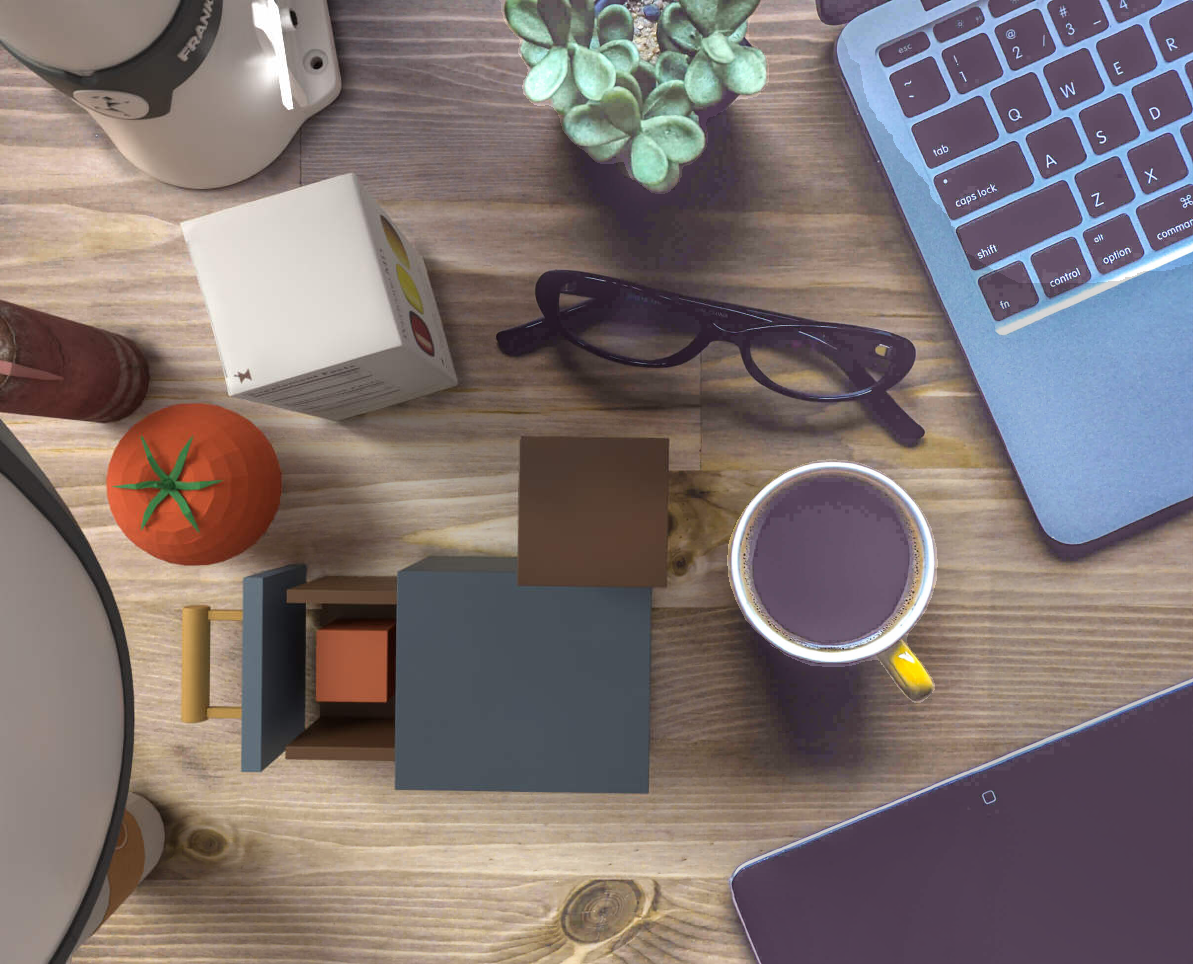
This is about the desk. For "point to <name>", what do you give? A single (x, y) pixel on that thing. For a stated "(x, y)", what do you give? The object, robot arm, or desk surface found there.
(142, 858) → the coffee cup
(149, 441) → the tomato
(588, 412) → the desk surface
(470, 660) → the cabinet
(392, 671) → the block
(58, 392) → the can
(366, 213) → the supplement box
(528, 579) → the stand
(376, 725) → the drawer
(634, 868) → the desk surface
